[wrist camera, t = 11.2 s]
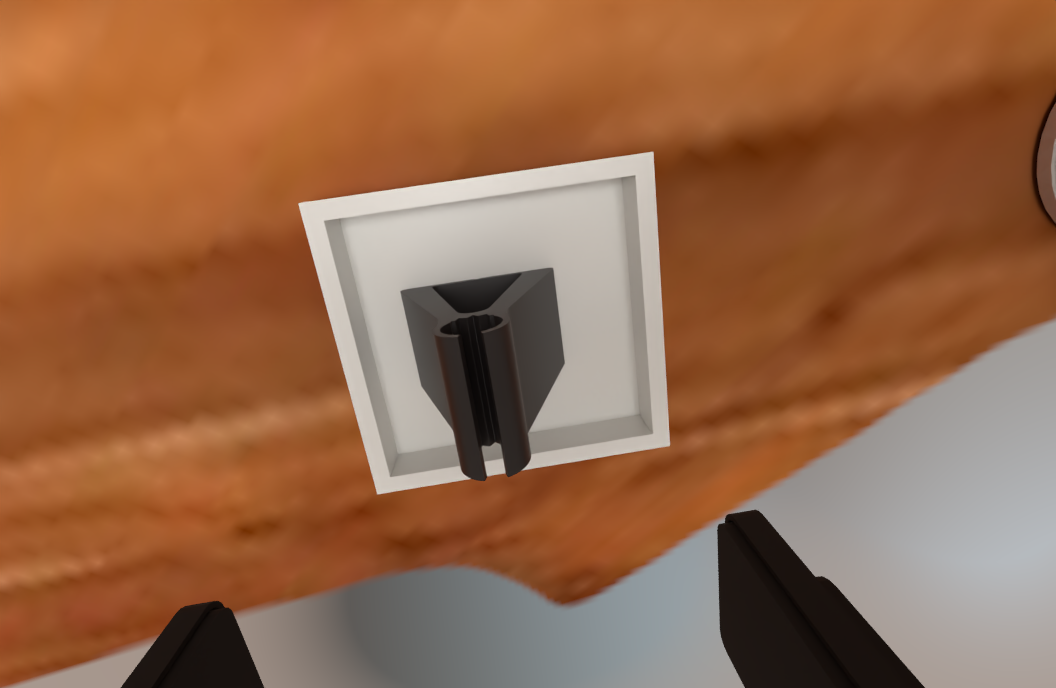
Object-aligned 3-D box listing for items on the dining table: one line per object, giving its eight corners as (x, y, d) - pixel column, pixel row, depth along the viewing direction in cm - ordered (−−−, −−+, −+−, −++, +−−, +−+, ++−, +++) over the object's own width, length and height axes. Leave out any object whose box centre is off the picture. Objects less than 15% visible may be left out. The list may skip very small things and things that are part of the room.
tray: (633, 156, 28) (653, 151, 25) (651, 420, 33) (670, 445, 30) (321, 201, 28) (297, 203, 24) (388, 463, 33) (377, 494, 29)
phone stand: (421, 383, 30) (381, 498, 19) (401, 288, 29) (343, 353, 17) (564, 361, 31) (609, 461, 19) (553, 267, 29) (595, 315, 18)
